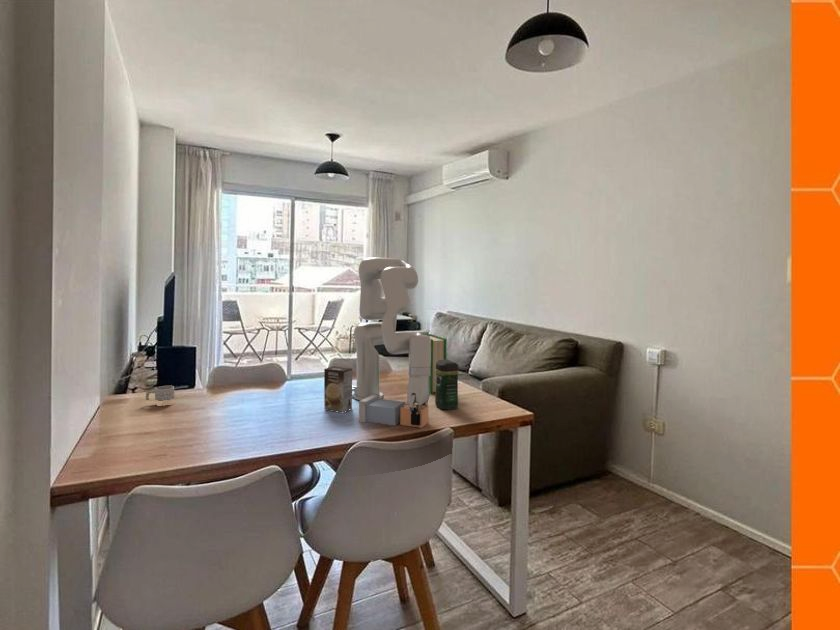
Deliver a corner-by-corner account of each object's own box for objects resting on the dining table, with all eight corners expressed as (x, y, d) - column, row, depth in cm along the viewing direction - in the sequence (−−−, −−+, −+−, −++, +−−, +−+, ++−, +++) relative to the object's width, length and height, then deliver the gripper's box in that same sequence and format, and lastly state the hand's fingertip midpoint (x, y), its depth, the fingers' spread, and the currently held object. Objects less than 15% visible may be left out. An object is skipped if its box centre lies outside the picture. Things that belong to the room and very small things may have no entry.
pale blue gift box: (357, 421, 161) (357, 401, 160) (372, 412, 171) (372, 393, 170) (393, 426, 156) (393, 406, 155) (406, 417, 166) (406, 398, 165)
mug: (176, 401, 184) (175, 385, 184) (173, 405, 178) (172, 389, 178) (148, 403, 181) (147, 386, 181) (143, 408, 175) (143, 391, 174)
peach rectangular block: (400, 424, 157) (400, 407, 157) (407, 419, 163) (407, 403, 162) (421, 427, 154) (422, 410, 154) (428, 422, 160) (428, 405, 159)
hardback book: (446, 392, 201) (446, 338, 199) (430, 394, 198) (431, 339, 196) (430, 383, 217) (430, 333, 215) (415, 385, 214) (416, 334, 212)
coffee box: (323, 410, 174) (322, 368, 172) (333, 405, 180) (333, 365, 178) (343, 413, 170) (343, 371, 169) (353, 408, 176) (352, 367, 174)
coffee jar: (461, 409, 176) (461, 361, 175) (442, 411, 173) (442, 363, 172) (450, 402, 185) (451, 357, 184) (432, 404, 182) (433, 358, 181)
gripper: (419, 365, 166) (418, 413, 167) (399, 374, 150) (398, 428, 151) (438, 367, 163) (437, 416, 164) (420, 377, 147) (419, 431, 148)
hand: (419, 421), depth 158 cm, fingers closed on peach rectangular block, 6 cm apart
